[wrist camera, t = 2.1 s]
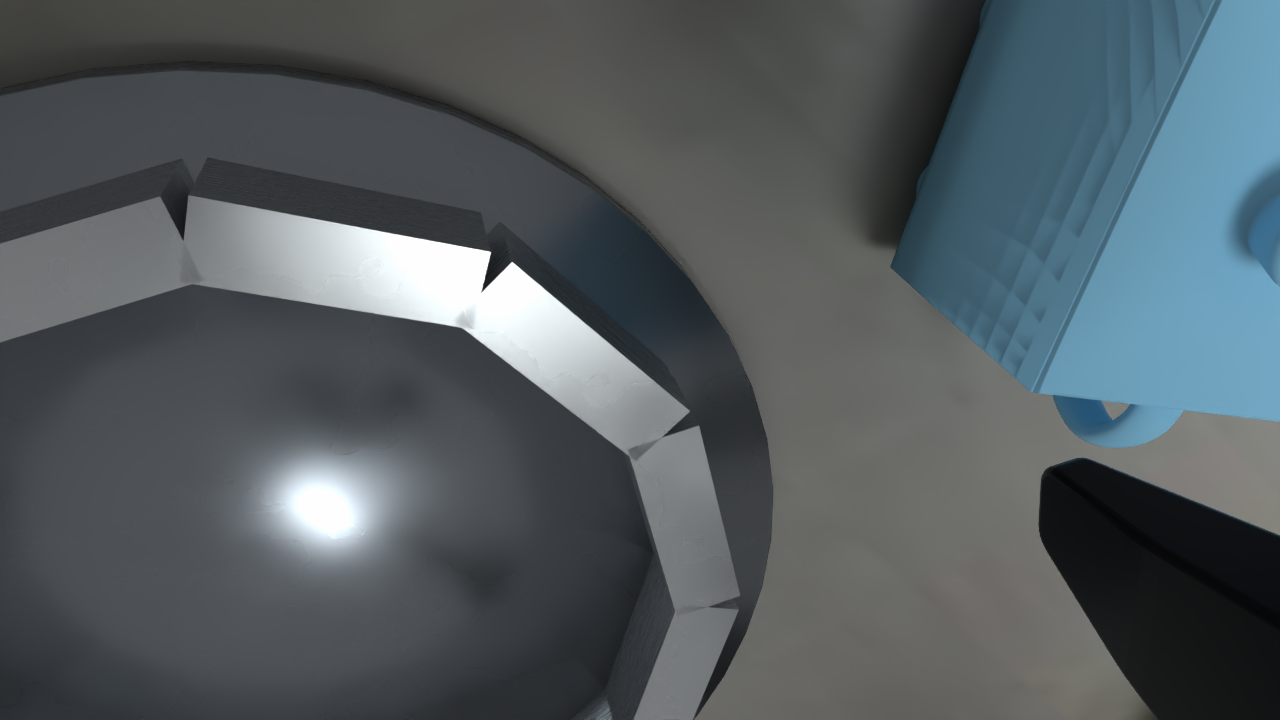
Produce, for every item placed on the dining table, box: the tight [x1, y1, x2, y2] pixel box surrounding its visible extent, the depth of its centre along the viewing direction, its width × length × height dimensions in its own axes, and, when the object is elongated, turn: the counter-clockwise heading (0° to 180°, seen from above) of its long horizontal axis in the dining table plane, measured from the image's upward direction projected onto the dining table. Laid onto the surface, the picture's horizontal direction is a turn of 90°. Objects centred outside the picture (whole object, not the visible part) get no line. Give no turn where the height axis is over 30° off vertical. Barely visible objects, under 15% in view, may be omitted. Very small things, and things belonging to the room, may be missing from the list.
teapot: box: [891, 0, 1280, 448], centre depth 18 cm, size 12×6×8 cm, turn 166°
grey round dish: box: [0, 61, 773, 720], centre depth 21 cm, size 23×23×3 cm
